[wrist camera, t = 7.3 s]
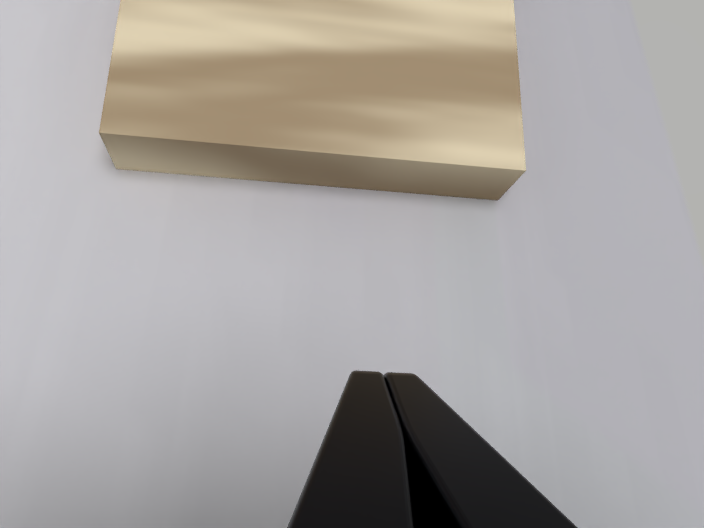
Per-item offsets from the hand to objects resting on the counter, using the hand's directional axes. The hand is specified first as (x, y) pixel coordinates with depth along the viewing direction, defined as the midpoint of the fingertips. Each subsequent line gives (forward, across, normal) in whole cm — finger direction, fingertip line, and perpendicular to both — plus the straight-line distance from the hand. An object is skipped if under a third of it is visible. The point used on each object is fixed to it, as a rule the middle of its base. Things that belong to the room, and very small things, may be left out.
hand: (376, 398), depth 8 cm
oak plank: (+14, 0, +2) cm, 14 cm away
